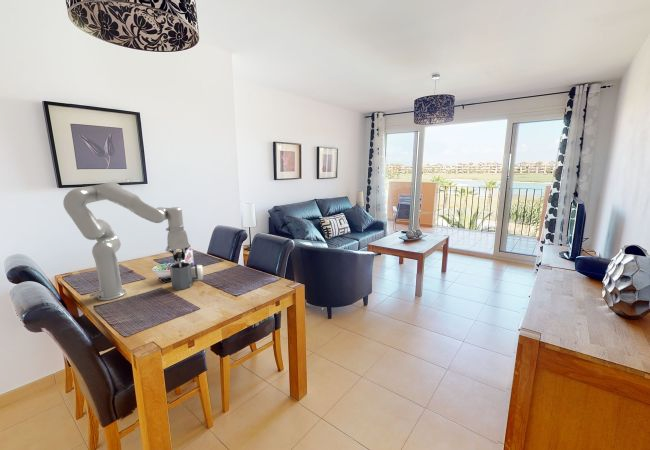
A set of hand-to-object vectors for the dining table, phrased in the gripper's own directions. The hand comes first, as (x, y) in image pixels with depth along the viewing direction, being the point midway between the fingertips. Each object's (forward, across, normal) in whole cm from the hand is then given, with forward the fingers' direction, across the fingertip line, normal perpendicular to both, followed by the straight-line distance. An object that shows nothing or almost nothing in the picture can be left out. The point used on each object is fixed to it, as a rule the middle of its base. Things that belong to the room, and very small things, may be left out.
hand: (179, 259), depth 166 cm
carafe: (+17, +2, 0) cm, 17 cm away
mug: (+17, +11, +7) cm, 21 cm away
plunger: (+16, 0, 0) cm, 16 cm away
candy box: (+17, +8, +18) cm, 26 cm away
